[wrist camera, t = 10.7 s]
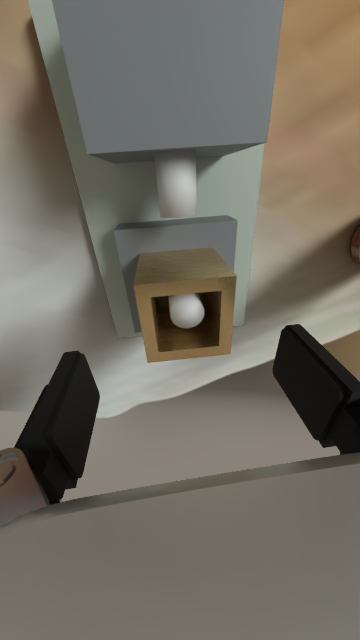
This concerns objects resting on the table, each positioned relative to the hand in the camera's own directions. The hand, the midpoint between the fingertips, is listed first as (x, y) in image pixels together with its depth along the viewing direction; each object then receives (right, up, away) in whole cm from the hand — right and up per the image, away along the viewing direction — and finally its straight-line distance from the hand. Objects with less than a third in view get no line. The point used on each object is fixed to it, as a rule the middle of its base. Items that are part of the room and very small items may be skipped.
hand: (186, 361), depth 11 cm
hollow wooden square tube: (0, +5, +8) cm, 9 cm away
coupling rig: (-1, +11, +9) cm, 14 cm away
